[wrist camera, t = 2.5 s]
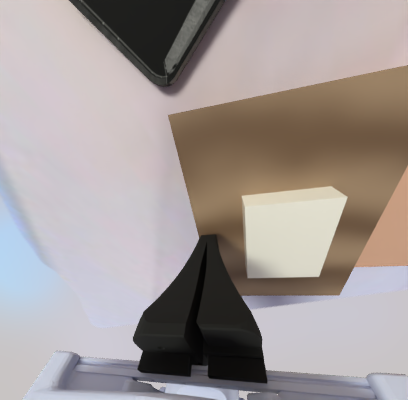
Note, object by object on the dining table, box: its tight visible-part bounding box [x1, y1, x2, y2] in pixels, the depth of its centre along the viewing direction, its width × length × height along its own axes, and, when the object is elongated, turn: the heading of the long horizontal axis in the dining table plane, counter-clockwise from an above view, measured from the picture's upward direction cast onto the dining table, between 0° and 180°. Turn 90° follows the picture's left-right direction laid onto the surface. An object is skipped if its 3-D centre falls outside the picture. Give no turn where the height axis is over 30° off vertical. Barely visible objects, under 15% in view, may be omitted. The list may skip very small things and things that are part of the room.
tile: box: [242, 186, 348, 278], centre depth 12 cm, size 8×6×2 cm
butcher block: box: [168, 65, 408, 296], centre depth 14 cm, size 20×14×2 cm
